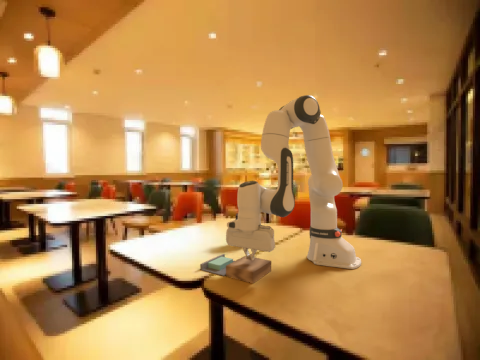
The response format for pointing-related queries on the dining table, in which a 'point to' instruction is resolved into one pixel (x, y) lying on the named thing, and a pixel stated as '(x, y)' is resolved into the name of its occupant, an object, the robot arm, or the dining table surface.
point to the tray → (219, 272)
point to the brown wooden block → (248, 269)
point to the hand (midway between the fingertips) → (250, 259)
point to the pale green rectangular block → (219, 263)
